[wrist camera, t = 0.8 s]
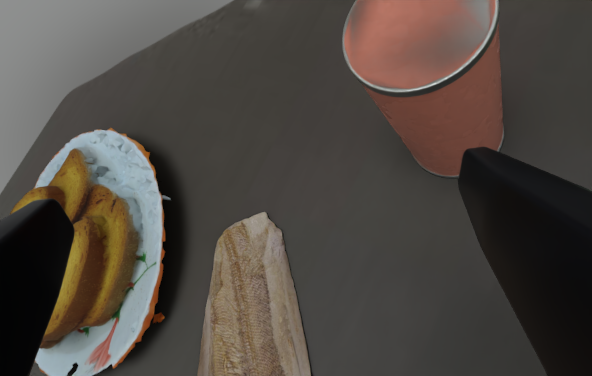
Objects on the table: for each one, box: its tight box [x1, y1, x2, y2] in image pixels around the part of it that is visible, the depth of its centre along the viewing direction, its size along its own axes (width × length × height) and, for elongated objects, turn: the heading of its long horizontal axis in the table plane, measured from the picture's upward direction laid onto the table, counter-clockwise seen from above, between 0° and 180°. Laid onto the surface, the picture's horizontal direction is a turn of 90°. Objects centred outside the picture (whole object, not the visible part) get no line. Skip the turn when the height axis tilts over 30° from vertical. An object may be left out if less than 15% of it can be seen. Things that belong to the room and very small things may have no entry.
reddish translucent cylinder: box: [342, 0, 504, 178], centre depth 20 cm, size 6×6×13 cm
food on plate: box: [10, 128, 171, 376], centre depth 38 cm, size 25×25×7 cm
